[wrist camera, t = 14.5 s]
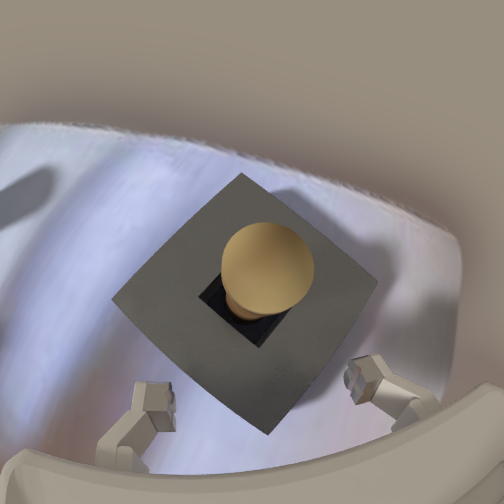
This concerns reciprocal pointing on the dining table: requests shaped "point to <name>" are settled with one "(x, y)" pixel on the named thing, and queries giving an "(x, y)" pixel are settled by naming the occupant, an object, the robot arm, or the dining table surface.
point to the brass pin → (264, 271)
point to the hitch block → (222, 333)
